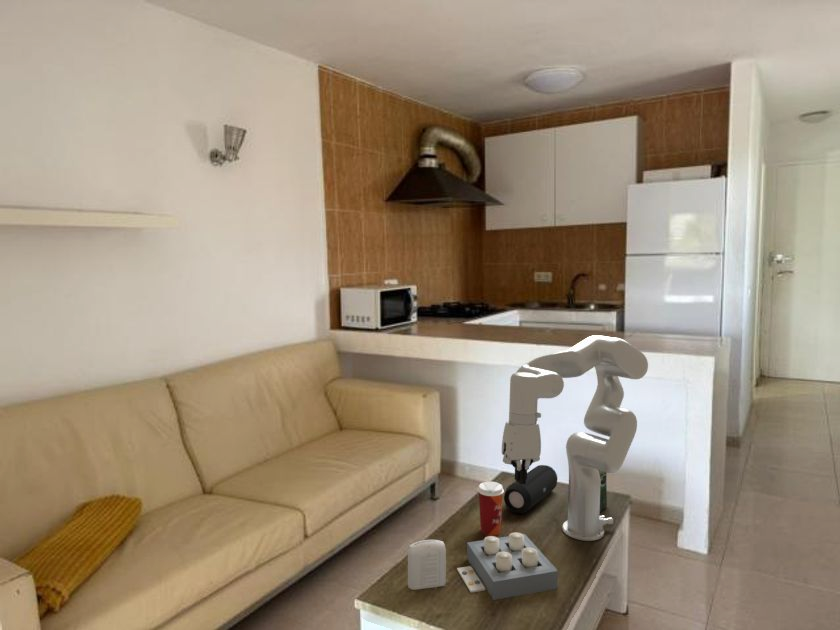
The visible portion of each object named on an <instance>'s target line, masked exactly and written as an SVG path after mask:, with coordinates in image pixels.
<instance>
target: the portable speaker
mask: <svg viewBox="0 0 840 630" xmlns="http://www.w3.org/2000/svg"><path fill="white" fill-rule="evenodd" d="M557 485H558V474H557V472H556V471H555V469H554V468H553V467H551V466H549V465H548V464H547V465H545V464H539V465H537V466H535V467H533V468H532V469H531V470H528V471H527V480H526V484H522V485H520V484H519V483H518V482H516V480H515V481H514V482H512V483H511V484H510V485H508V486H507V488H506V490H504V493H503V500H504V504H505V505H506V508H507V509H509V511H511V512H513V513H515V514H523V513H526V512H528V511H529V510H530V509H531V508H532V507H534V506H535V505H536V504H537V503H539V502H541V501H542V499H544V498H545V497H546V496H547V495H549V493H551V492H552V491H553V490H555V488H556V487H557Z"/></svg>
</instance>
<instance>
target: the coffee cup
mask: <svg viewBox="0 0 840 630" xmlns="http://www.w3.org/2000/svg"><path fill="white" fill-rule="evenodd" d="M477 493H478V504H479V506H478V507H479V522H480V532H481V534H482V535H484V536H485V537H488V536H494V537H497V536H498V535H500V533H501V526H502V525H501V522H502V513H503V511H502V510H503V499H504V494H505V490H504V488H503V484H501V483H499V482H496V481H484V482H480V483H479V485H478V488H477Z"/></svg>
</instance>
